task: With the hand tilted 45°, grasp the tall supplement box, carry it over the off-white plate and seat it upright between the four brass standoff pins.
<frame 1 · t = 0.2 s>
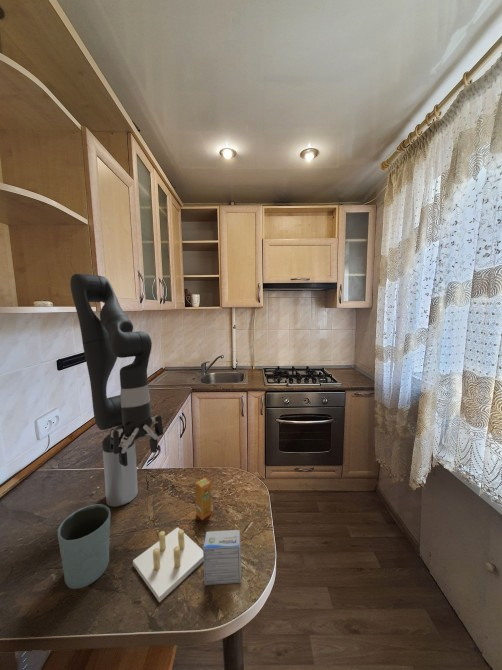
hand: (139, 458, 71), 18 cm above the counter, tool pointing down, fingers open, 8 cm apart
teal embossed cup: (89, 570, 57), on the counter
pin plate: (170, 561, 59), on the counter
supplement box: (204, 515, 72), on the counter
medicine box: (223, 575, 55), on the counter
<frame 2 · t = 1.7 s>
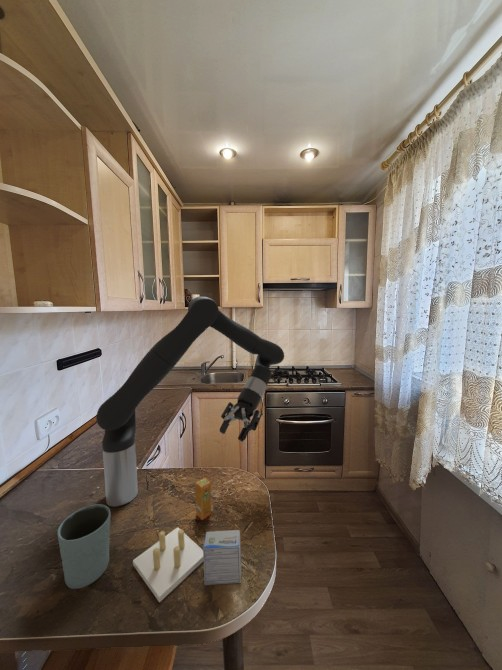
hand: (230, 436, 80), 19 cm above the counter, tool tilted 45°, fingers open, 8 cm apart
nothing on the counter moved.
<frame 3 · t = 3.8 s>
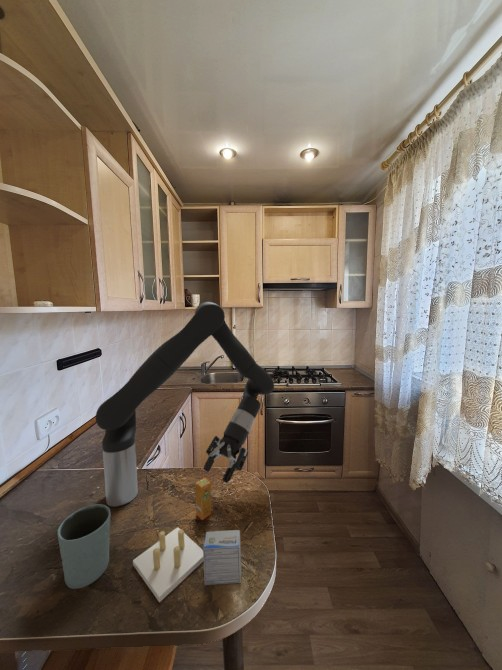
hand: (214, 476, 75), 9 cm above the counter, tool tilted 45°, fingers open, 8 cm apart
nothing on the counter moved.
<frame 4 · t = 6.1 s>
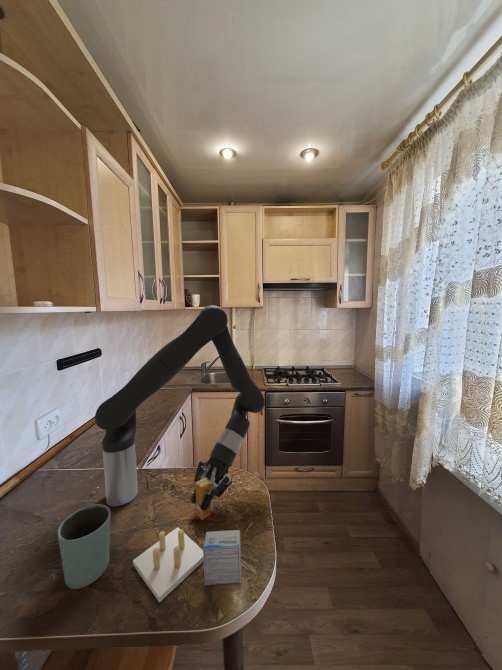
hand: (197, 505, 71), 4 cm above the counter, tool tilted 45°, fingers closed on supplement box, 3 cm apart
supplement box: (204, 515, 72), on the counter, touching gripper
everything else where it was.
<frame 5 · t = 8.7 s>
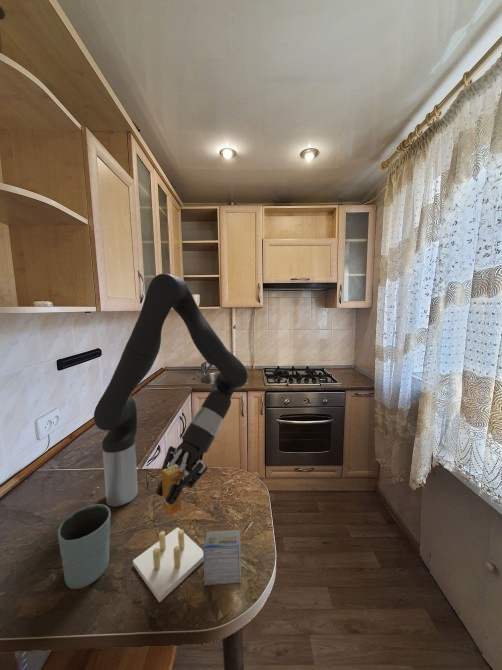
hand: (164, 498, 57), 16 cm above the counter, tool tilted 45°, fingers closed on supplement box, 3 cm apart
supplement box: (172, 510, 59), point 12 cm above the counter, touching gripper
everything else where it was.
when the fingers open (7 cm above the counter, at t = 11.2 s): supplement box drops 2 cm, resting on pin plate.
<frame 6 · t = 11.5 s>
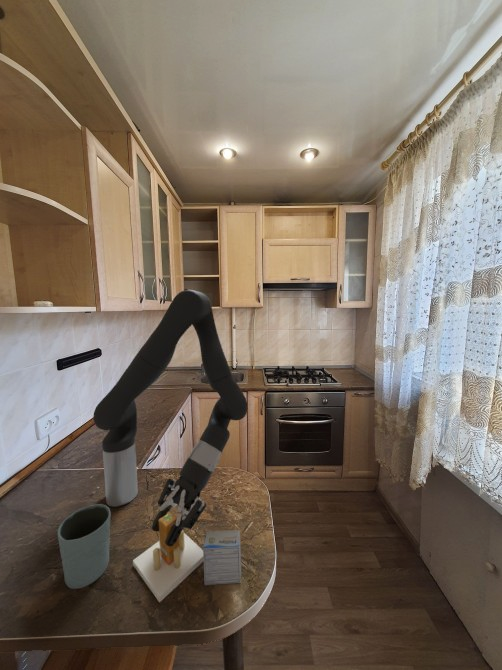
hand: (161, 537, 57), 7 cm above the counter, tool tilted 45°, fingers open, 5 cm apart
supplement box: (171, 557, 58), point 1 cm above the counter, touching pin plate
everything else where it was.
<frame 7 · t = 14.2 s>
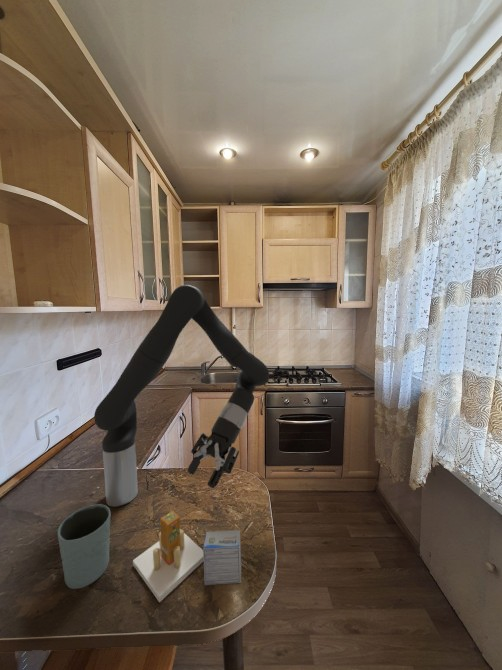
hand: (199, 479, 65), 15 cm above the counter, tool tilted 45°, fingers open, 8 cm apart
nothing on the counter moved.
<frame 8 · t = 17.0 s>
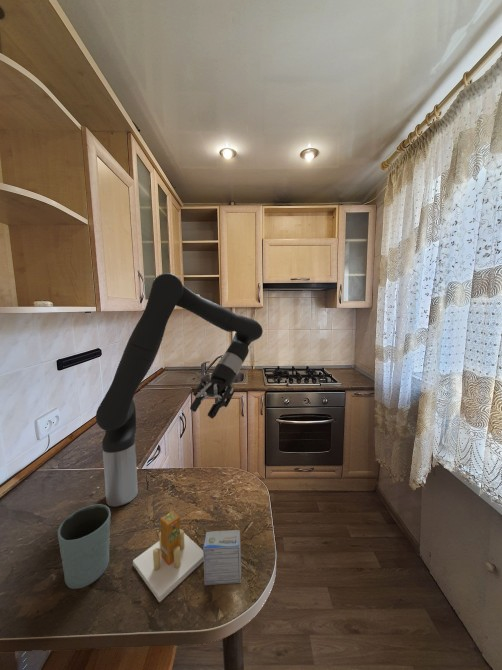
hand: (200, 413, 75), 29 cm above the counter, tool tilted 45°, fingers open, 8 cm apart
nothing on the counter moved.
at the end: supplement box 0.4 cm from the pin plate (horizontally); supplement box point 1.0 cm above the counter; supplement box tilted 0° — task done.
